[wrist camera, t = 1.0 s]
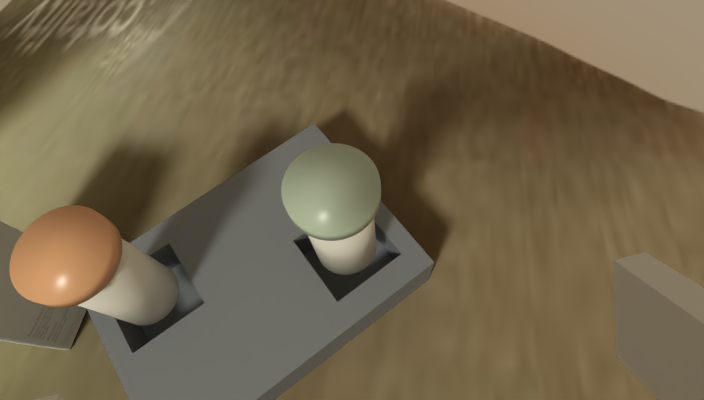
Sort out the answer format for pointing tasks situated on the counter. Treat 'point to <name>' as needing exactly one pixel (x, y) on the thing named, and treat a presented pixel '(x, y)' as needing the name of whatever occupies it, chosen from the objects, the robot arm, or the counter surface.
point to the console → (253, 292)
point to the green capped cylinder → (335, 204)
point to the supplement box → (31, 308)
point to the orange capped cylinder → (90, 268)
